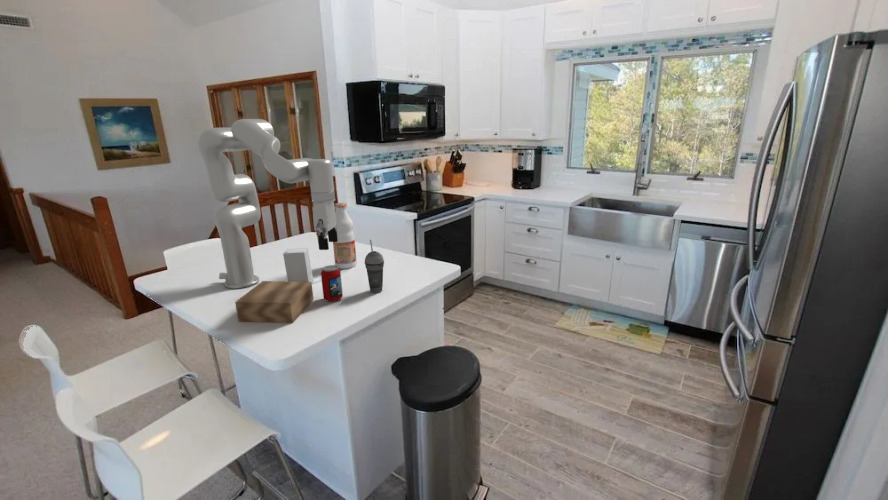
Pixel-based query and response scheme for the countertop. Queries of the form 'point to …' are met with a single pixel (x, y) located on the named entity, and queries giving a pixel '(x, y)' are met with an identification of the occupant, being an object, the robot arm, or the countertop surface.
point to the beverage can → (331, 283)
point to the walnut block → (275, 302)
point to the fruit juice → (344, 239)
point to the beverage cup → (374, 270)
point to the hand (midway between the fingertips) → (328, 245)
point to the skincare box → (298, 265)
